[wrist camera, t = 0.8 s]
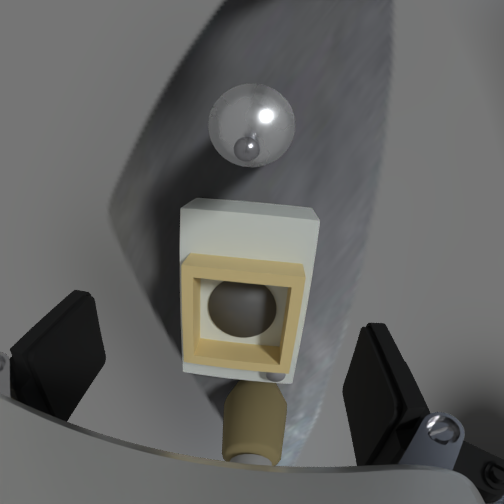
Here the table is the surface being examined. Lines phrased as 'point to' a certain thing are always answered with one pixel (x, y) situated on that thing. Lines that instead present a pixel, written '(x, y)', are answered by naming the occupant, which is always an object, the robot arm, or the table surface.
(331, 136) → the table surface
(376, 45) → the table surface
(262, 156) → the spout can
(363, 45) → the table surface
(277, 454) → the squeeze bottle
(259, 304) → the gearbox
